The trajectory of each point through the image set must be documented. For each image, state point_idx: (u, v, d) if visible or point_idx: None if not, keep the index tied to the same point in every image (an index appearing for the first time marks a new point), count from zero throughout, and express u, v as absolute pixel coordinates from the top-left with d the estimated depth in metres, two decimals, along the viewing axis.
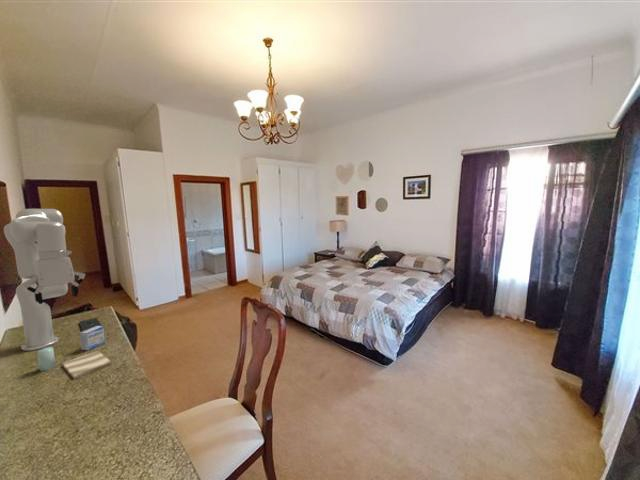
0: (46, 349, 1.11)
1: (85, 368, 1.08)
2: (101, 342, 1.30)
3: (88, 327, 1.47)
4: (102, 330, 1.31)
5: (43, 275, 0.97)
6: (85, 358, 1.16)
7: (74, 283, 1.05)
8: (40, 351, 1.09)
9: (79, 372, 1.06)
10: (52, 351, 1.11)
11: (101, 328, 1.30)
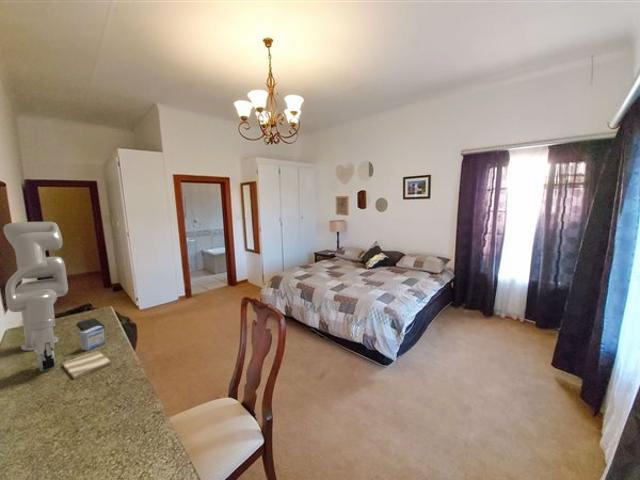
0: None
1: (85, 368, 1.08)
2: (101, 342, 1.30)
3: (89, 327, 1.48)
4: (102, 330, 1.31)
5: (53, 339, 1.09)
6: (85, 358, 1.16)
7: None
8: None
9: (79, 372, 1.06)
10: (52, 351, 1.11)
11: (101, 328, 1.30)
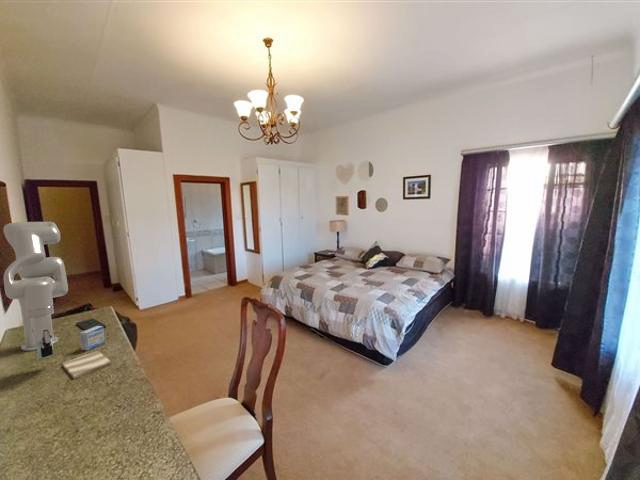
0: None
1: (85, 368, 1.08)
2: (101, 342, 1.30)
3: (91, 327, 1.48)
4: (102, 330, 1.31)
5: (52, 327, 1.09)
6: (85, 358, 1.16)
7: None
8: None
9: (79, 372, 1.06)
10: (51, 339, 1.10)
11: (101, 328, 1.30)
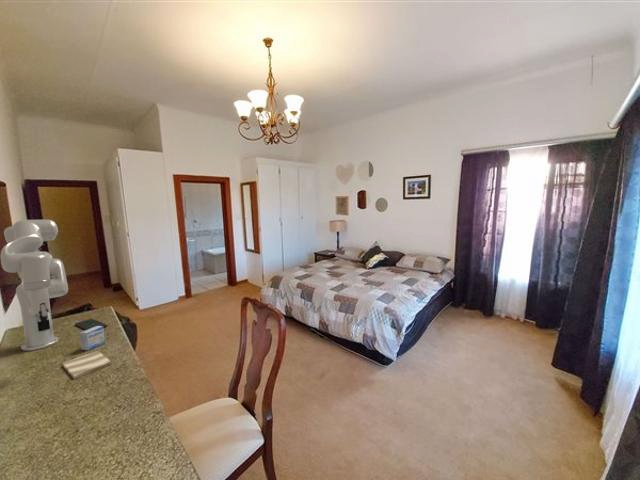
0: None
1: (85, 368, 1.08)
2: (101, 342, 1.30)
3: (91, 326, 1.48)
4: (102, 330, 1.31)
5: None
6: (85, 358, 1.16)
7: None
8: None
9: (79, 372, 1.06)
10: (48, 313, 1.09)
11: (101, 328, 1.30)
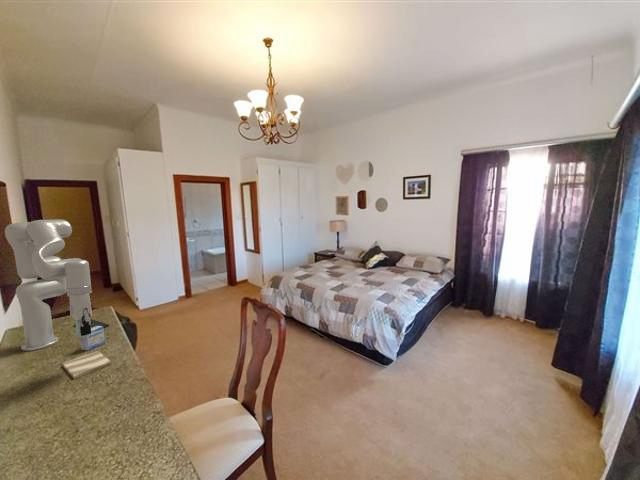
0: None
1: (85, 368, 1.08)
2: (101, 342, 1.30)
3: (93, 326, 1.48)
4: (102, 330, 1.31)
5: (90, 306, 1.10)
6: (85, 358, 1.16)
7: None
8: None
9: (79, 372, 1.06)
10: None
11: (101, 328, 1.30)
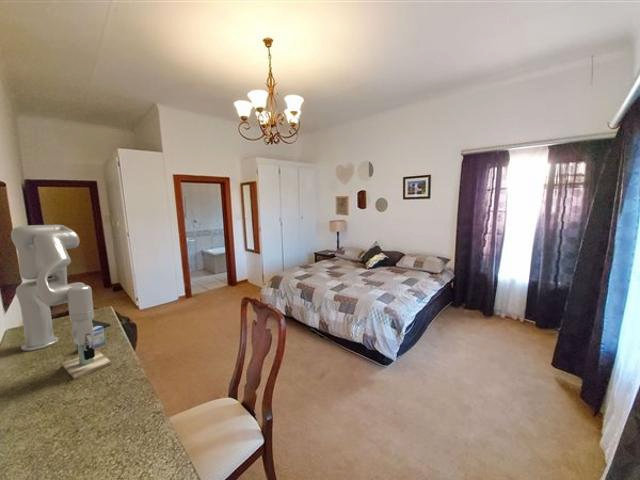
0: None
1: (85, 368, 1.08)
2: (101, 342, 1.30)
3: (94, 326, 1.49)
4: (102, 330, 1.31)
5: (93, 331, 1.11)
6: None
7: None
8: None
9: (79, 372, 1.06)
10: None
11: (101, 328, 1.30)
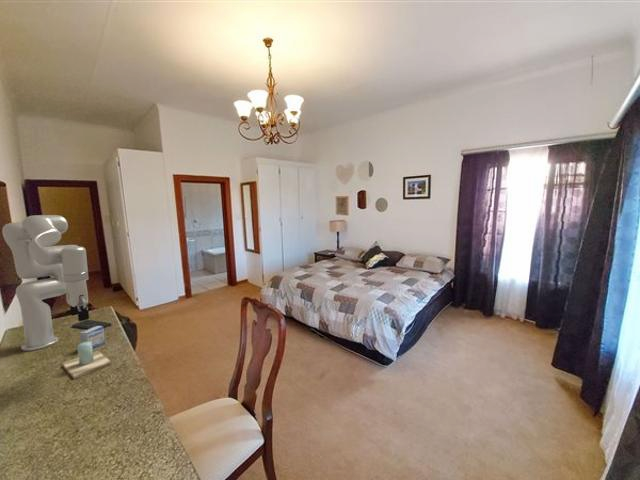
0: (85, 343, 1.13)
1: (85, 368, 1.08)
2: (101, 342, 1.30)
3: None
4: (102, 330, 1.31)
5: None
6: None
7: None
8: (80, 345, 1.11)
9: (79, 372, 1.06)
10: (91, 345, 1.13)
11: (101, 328, 1.30)
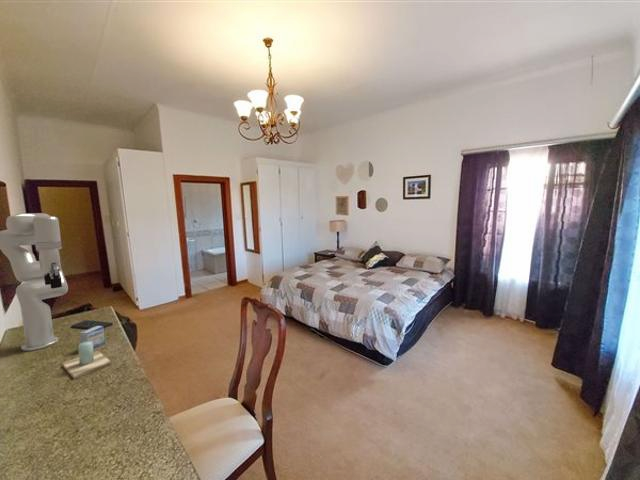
0: (86, 342, 1.13)
1: (85, 368, 1.08)
2: (101, 342, 1.30)
3: (96, 325, 1.49)
4: (102, 330, 1.31)
5: None
6: None
7: None
8: (81, 344, 1.11)
9: (79, 372, 1.06)
10: (91, 345, 1.13)
11: (101, 328, 1.30)
